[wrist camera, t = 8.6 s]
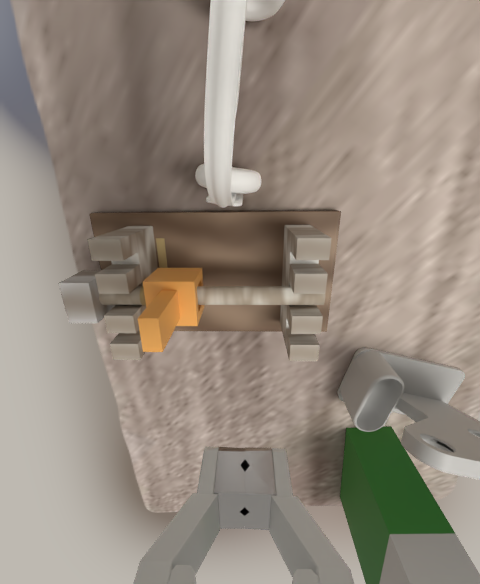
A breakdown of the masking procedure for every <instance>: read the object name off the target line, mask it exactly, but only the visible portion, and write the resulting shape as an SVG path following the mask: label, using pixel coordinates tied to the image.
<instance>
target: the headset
mask: <svg viewBox="0 0 480 584" xmlns="http://www.w3.org/2000/svg"><path fill="white" fill-rule="evenodd" d="M284 1H285V0H211V2H210V18H209V34H208V51H207V69H206V89H205V113H204V164H202V165H200V166H198V168H197V170H196V174H195V178H196V181H197V183H198V184H199V185H200V186H202V187H205V188H207V191H208V195H209V196H208V197H207V198H206V201H207V202H209V203H214V204H217V205H218V206H220V207H221V208H225V207H227V206H241V205H242V202H243V194H247V193H254V192H256V191H258V190H259V188H260V186H261V176H260V174H259V173H258V172H257V171H254V170H249V169H243V168H236V167H232V155H233V141H234V129H235V117H236V112H237V106H238V97H239V87H240V76H241V64H242V53H243V42H244V31H245V21H261V20H265V19H267V18H269V17H271V16H273V15H274V14H275V13H276V12H277V11H278V10H279V9H280V8H281V7H282V5H283V3H284ZM240 193H242V194H240Z"/></svg>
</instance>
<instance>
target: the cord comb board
mask: <svg viewBox="0 0 480 584" xmlns="http://www.w3.org/2000/svg"><path fill="white" fill-rule="evenodd" d="M340 216H341V211H231V212H119V213H91V214H90V219H91V224H92V229H93V234H94V237H93V238H90V239H87V241H88V245H89V250H90V254H91V259H92V261H99V263H100V268H101V270H83V271H81V272H79V273H77V274H75V275H73V276H71V277H70V278H68V279H66V280H64V281H62V282H60V283H59V287H60V291H61V295H62V298H63V302H64V305H65V310H66V313H67V316H68V320H69V323H98V322H99V321H100V320H102V319H103V318H104V320H105V324H106V329H107V333H119V334H118V335H117V336H116V337H115V338H114V340H113V341H112V342H111V343H110V347H111V352H112V357H113V360H141V358H142V357H143V355H144V354H145V352H143V349H142V343H141V337H140V330H139V324H138V317H139V316H140V315H141V314H142V312H143V311H144V310H145V309H146V302H145V295H144V288H143V281H144V280H145V279H146V278H147V277H148V276H149V275H151V274H152V273H153V272H154V271H155V270H156V269H157V268H202V274H203V286H197V298H198V305H205V307H204V310H203V313H202V315H201V318H200V321H199V324H198V326H176V327H175V329H174V331H282V332H283V336H284V341H285V345H286V349H287V353H288V357H289V361H318V356H319V347H320V345H319V343H318V340H317V338H316V336H315V334H321V332H327V324H328V316H329V307H330V299H331V291H332V282H333V274H334V266H335V257H336V249H337V241H338V232H339V224H340Z"/></svg>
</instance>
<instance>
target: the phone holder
mask: <svg viewBox="0 0 480 584" xmlns="http://www.w3.org/2000/svg"><path fill="white" fill-rule="evenodd" d="M464 378H465V374H464V372H463V371H461V370H460V369H459V368H457V367H452V366H448V365H443V364H439V363H434V362H430V361H425V360H421V359H416V358H412V357H407V356H403V355H398V354H394V353H389V352H385V351H381V350H376V349H372V348H367V347H364V348H360V349H359V350H357V351H356V353H355V355H354V357H353V359H352V361H351V363H350V365H349V368H348V370H347V372H346V374H345V376H344V378H343V381H342V383H341V385H340V387H339V389H338V392H337V393H338V396H339V399H340V400H341V401H343V402H344V403H345V405H346V407H347V410H348V412H349V414H350V416H351V419H352V421H353V423H354V425H355V426H356V427H357V428H358V429H359V430H362V431H365V432H372V431H376V430H378V429H380V428H381V427H383V426H384V425H385V423H386V421H387V420H388V418H389V416H390V414H391V413H392V412H395V413H400V414H405V415H407V416H408V417H410V418H411V419H413V420H414V421H415V422H416V423H413V424H411V425H408V426H405V428H404V432H403V436H402V440H401V445H402V446H403V447H404V448H405V449H406V450H407V451H408V452H409V453H410V454H412V455H413V456H414V457H415V458H417V459H418V460H420V461H421V462H423V463H425V464H426V465H428V466H430V467H432V468H434V469H437V470H439V471H442V472H445V473H449V474H454V475H459V476H463V477H468V478H473V479H478V480H480V438H479V437H480V421H478V420H476V419H474V418H473V417H471V416H469V415H467V414H465V413H463V412H461V411H460V410H458V409H456V408H454V407H452V406H450V405H448V402H449V401H450V399H451V398H452V396H453V395H454V393H455V392H456V390H457V389H458V387H459V386H460V384H461V383H462V381H463V380H464ZM475 435H476V436H475ZM477 436H478V437H477Z"/></svg>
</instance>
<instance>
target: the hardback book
mask: <svg viewBox="0 0 480 584" xmlns="http://www.w3.org/2000/svg"><path fill="white" fill-rule="evenodd" d="M340 498H341V501H342V505H343V508H344V511H345V515H346V518H347V522H348V525H349V528H350V532H351V535H352V538H353V541H354V545H355V548H356V552H357V555H358V559H359V562H360V565H361V569H362V572H363V575H364V579H365V582H366V584H480V574H479V573H478V571H477V569H476V567H475V566H474V564H473V562H472V561H471V559H470V557H469V556H468V554H467V552H466V551H465V549H464V547H463V546H462V544H461V542H460V541H459V539H458V537H457V536H456V534H455V532H454V531H453V529H452V527H451V526H450V524H449V522H448V521H447V519H446V518H445V516H444V514H443V512H442V511H441V509H440V507H439V506H438V504H437V502H436V501H435V499H434V497H433V496H432V494H431V492H430V491H429V489H428V487H427V486H426V484H425V482H424V481H423V479H422V477H421V476H420V474H419V472H418V471H417V469H416V467H415V466H414V464H413V462H412V461H411V459H410V457H409V456H408V454H407V452H406V450H405V449H404V447H403V446H402V445H401V442H400V440H399V439H398V437H397V435H396V434H395V432H394V430H393V429H392V427H381V428H380V429H378V430H376V431H372V432H365V431H362V430H359V429H358V428H346V437H345V448H344V459H343V469H342V480H341V491H340Z"/></svg>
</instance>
